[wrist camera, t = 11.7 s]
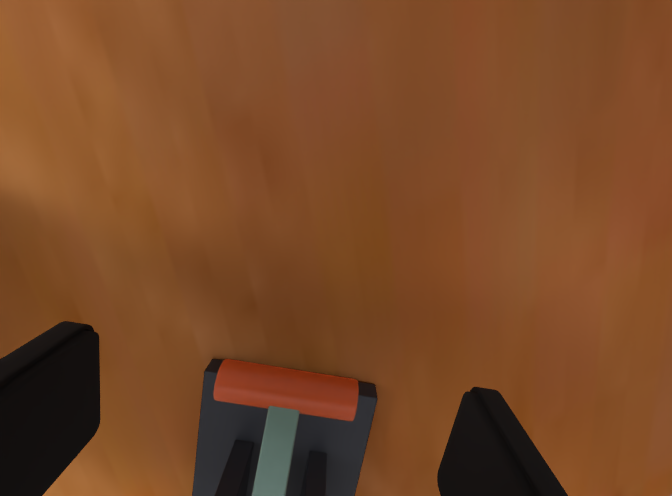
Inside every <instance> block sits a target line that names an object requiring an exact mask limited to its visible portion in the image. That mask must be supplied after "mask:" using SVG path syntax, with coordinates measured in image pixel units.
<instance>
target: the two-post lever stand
mask: <svg viewBox="0 0 672 496" xmlns="http://www.w3.org/2000/svg"><path fill="white" fill-rule="evenodd" d="M223 361H224V360H217V359H212V361H211V362H210V364H209V365H208V367H207V368H206V370H205V371H204V381H203V391H202V401H201V412H200V422H199V432H198V442H197V452H196V463H195V473H194V483H193V493H192V496H252V492H253V486H254V481H255V476H256V471H257V465H258V460H259V455H260V449H261V444H262V439H263V434H264V428H265V423H266V418H267V413H268V409H267V408H260V407H254V406H247V405H241V404H234V403H228V402H221V401H216V400H214V385H215V381H216V377H217V373H218V371H219V368H220V366H221V364H222V362H223ZM358 386H359V393H358V404H357V410H356V415H355V418H354V420H353V421H344V420H338V419H331V418H325V417H318V416H312V415H305V414H299V419H298V424H297V430H296V436H295V442H294V448H293V454H292V460H291V465H290V471H289V477H288V483H287V489H286V495H285V496H354V495H355V491H356V487H357V483H358V479H359V474H360V470H361V466H362V462H363V458H364V453H365V449H366V445H367V441H368V437H369V432H370V428H371V424H372V420H373V416H374V411H375V407H376V403H377V393H376V387H375V385H374V384H368V383H362V382H358Z"/></svg>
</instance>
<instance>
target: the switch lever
mask: <svg viewBox="0 0 672 496" xmlns="http://www.w3.org/2000/svg"><path fill="white" fill-rule="evenodd" d="M358 393H359V386H358V381H357V380H356V379H351V378H345V377H339V376H333V375H326V374H320V373H314V372H307V371H301V370H295V369H289V368H282V367H276V366H270V365H264V364H257V363H251V362H245V361H239V360H232V359H224V361H223V362H222V364H221V366H220V368H219V371H218V373H217V377H216V381H215V385H214V400H216V401H221V402H228V403H234V404H241V405H247V406H254V407H260V408H267V409H268V413H267V418H266V423H265V428H264V434H263V439H262V444H261V449H260V455H259V460H258V465H257V471H256V476H255V481H254V486H253V492H252V496H285V495H286V489H287V483H288V477H289V471H290V465H291V460H292V454H293V448H294V442H295V436H296V430H297V424H298V419H299V414H305V415H312V416H318V417H325V418H331V419H338V420H344V421H353V420H354V418H355V415H356V410H357V404H358Z"/></svg>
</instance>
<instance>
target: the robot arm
mask: <svg viewBox="0 0 672 496" xmlns="http://www.w3.org/2000/svg"><path fill="white" fill-rule="evenodd" d="M99 424H100V363H99V335H98V333H96V332H94V329H93V327H92V326H90V325H87V324H81V323H75V322H69V321H63V322H61V323H59V324H57V325H56V326H54V327H52V328H51V329H49V330H47V331H46V332H44V333H43V334H41V335H39V336H38V337H36V338H34V339H33V340H31V341H30V342H28V343H26V344H25V345H23V346H21V347H20V348H18V349H16V350H15V351H13V352H12V353H10V354H8V355H7V356H5V357H3V358H2V359H0V496H42V495H43V494H44V493H45V492H46V491H47V489H48V488H49V487H50V486H51V485H52V484H53V482H54V481H55V480H56V479H57V478H58V477H59V476H60V474H61V473H62V472H63V471H64V470H65V469H66V467H67V466H68V465H69V464H70V463H71V462H72V461H73V459H74V458H75V457H76V456H77V455H78V454H79V452H80V451H81V450H82V449H83V448H84V447H85V446H86V444H87V443H88V442H89V441H90V440H91V439H92V437H93V436H94V435H95V433H96V431H97V429H98V427H99ZM438 487H439V491H440V495H441V496H568V495H567V493H566V492H565V490H564V489H563V487H562V486H561V484H560V483H559V481H558V480H557V478H556V477H555V475H554V474H553V472H552V471H551V469H550V468H549V466H548V465H547V463H546V462H545V460H544V459H543V457H542V456H541V454H540V453H539V451H538V450H537V448H536V447H535V445H534V444H533V442H532V441H531V439H530V438H529V436H528V435H527V433H526V432H525V430H524V429H523V427H522V426H521V424H520V423H519V421H518V420H517V418H516V417H515V415H514V413H513V412H512V410H511V409H510V407H509V406H508V404H507V403H506V401H505V400H504V398H503V397H502V395H501V394H500V393H499V392H498V391H496V390H492V389H486V388H479V387H473V388H472V389H471V390H470V392H465V393H464V395H463V398H462V401H461V404H460V407H459V410H458V413H457V416H456V419H455V422H454V425H453V428H452V431H451V434H450V437H449V440H448V443H447V446H446V449H445V452H444V455H443V458H442V461H441V464H440V467H439V470H438Z"/></svg>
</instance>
